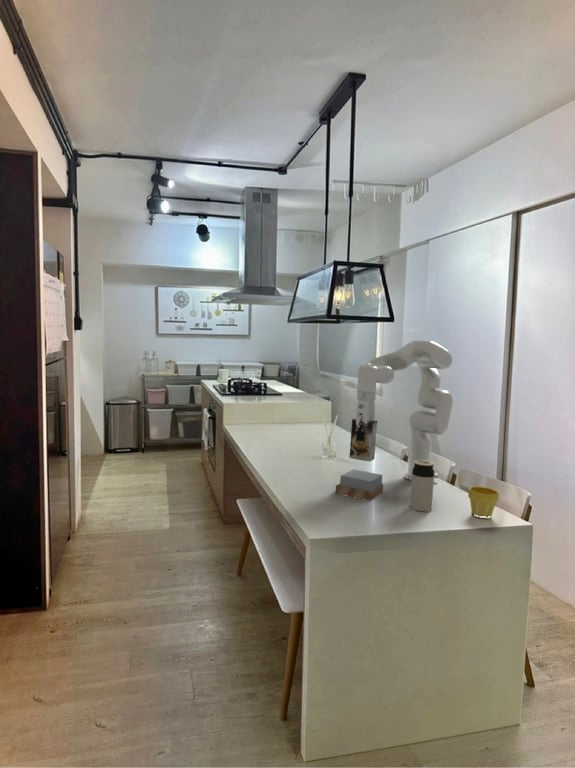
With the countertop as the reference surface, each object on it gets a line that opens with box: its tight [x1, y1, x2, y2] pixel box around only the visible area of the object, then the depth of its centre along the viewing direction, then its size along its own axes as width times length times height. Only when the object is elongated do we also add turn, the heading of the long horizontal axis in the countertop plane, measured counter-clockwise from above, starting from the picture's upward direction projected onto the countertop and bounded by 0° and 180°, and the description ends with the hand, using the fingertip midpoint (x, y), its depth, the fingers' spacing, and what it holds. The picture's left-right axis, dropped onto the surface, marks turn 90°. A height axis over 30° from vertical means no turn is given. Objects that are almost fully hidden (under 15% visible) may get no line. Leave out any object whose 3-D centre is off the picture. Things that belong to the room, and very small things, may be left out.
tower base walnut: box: [335, 483, 384, 502], centre depth 205 cm, size 15×15×4 cm
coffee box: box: [348, 418, 378, 462], centre depth 203 cm, size 9×6×16 cm
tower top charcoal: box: [339, 468, 383, 491], centre depth 204 cm, size 13×13×4 cm
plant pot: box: [467, 486, 500, 517], centre depth 183 cm, size 10×10×10 cm
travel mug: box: [409, 460, 435, 512], centre depth 188 cm, size 8×8×18 cm
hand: (363, 439), depth 203 cm, fingers closed on coffee box, 6 cm apart
